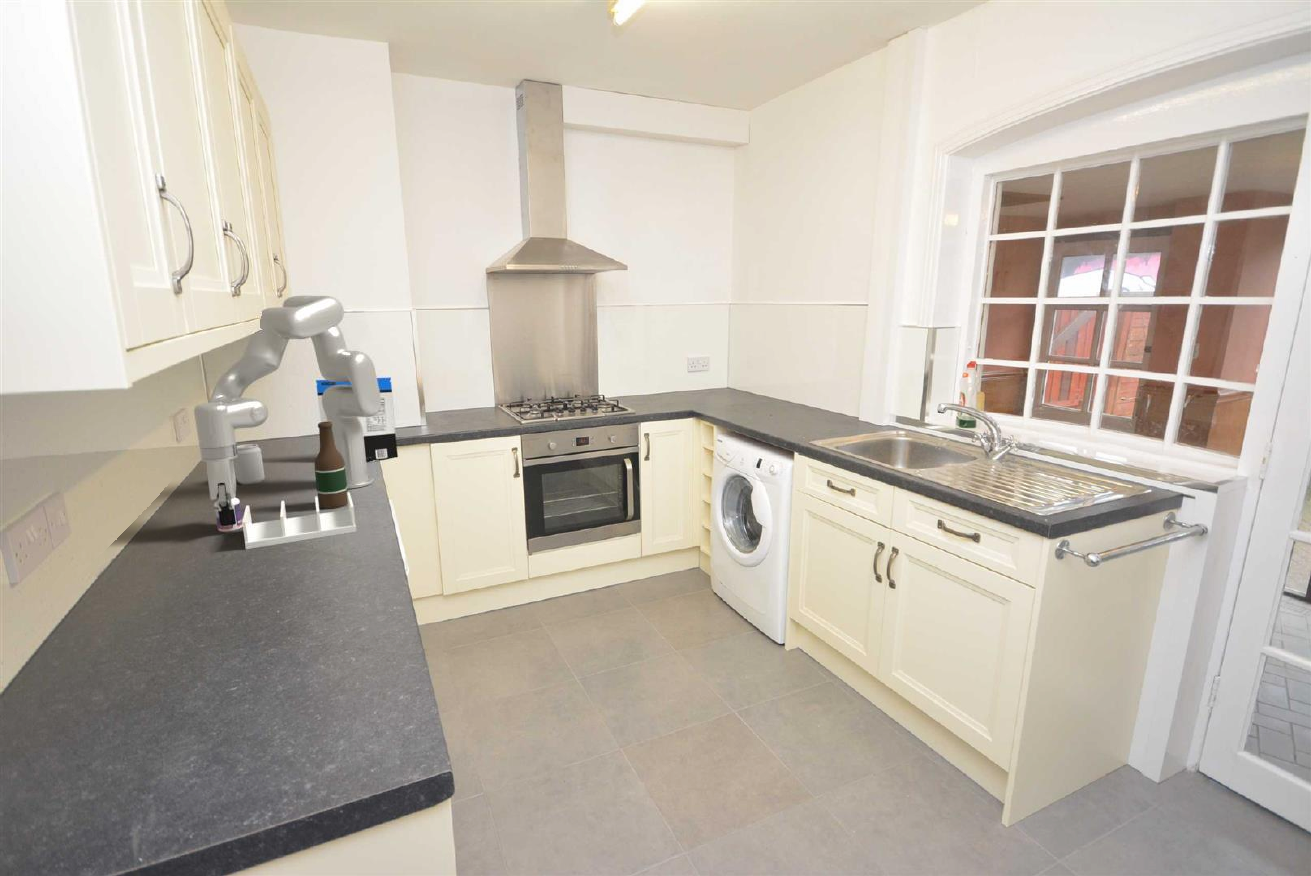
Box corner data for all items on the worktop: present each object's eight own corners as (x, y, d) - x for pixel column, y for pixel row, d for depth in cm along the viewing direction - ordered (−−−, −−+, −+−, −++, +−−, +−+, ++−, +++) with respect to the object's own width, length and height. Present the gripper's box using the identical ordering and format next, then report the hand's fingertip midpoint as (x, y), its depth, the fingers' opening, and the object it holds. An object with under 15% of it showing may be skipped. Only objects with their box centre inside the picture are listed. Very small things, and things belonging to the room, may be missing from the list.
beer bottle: (322, 511, 171) (312, 426, 166) (316, 504, 177) (306, 422, 172) (352, 505, 176) (343, 422, 171) (345, 499, 182) (336, 418, 177)
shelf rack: (249, 529, 157) (246, 505, 156) (351, 514, 168) (349, 491, 167) (245, 549, 144) (242, 522, 143) (356, 531, 156) (353, 506, 154)
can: (231, 484, 197) (226, 447, 195) (251, 477, 204) (246, 442, 202) (251, 485, 195) (245, 448, 193) (270, 479, 202) (265, 443, 200)
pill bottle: (236, 523, 162) (231, 487, 160) (247, 527, 159) (242, 490, 157) (213, 529, 157) (208, 493, 155) (224, 533, 154) (218, 496, 152)
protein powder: (397, 460, 228) (390, 378, 221) (323, 466, 219) (313, 381, 213) (398, 454, 236) (391, 376, 230) (327, 459, 228) (317, 378, 222)
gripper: (205, 447, 159) (215, 513, 163) (196, 461, 145) (207, 534, 148) (239, 444, 163) (249, 509, 167) (234, 457, 148) (244, 528, 152)
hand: (229, 520), depth 158 cm, fingers open, 6 cm apart
